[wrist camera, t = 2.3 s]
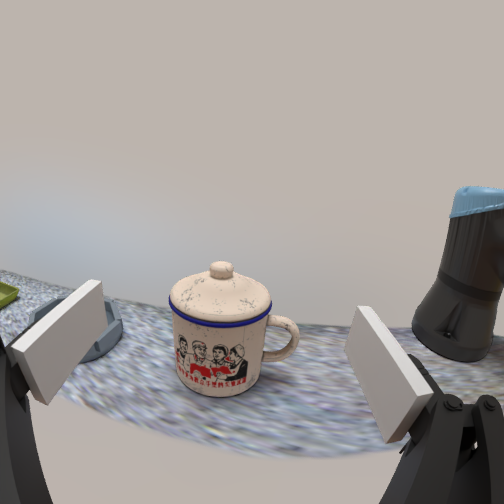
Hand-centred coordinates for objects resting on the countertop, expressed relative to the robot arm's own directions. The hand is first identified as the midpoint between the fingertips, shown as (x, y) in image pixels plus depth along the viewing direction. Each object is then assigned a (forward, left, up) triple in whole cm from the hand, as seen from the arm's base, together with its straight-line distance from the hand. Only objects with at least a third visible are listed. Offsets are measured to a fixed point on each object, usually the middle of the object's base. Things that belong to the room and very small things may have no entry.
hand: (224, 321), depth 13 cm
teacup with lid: (+1, -10, -13) cm, 16 cm away
